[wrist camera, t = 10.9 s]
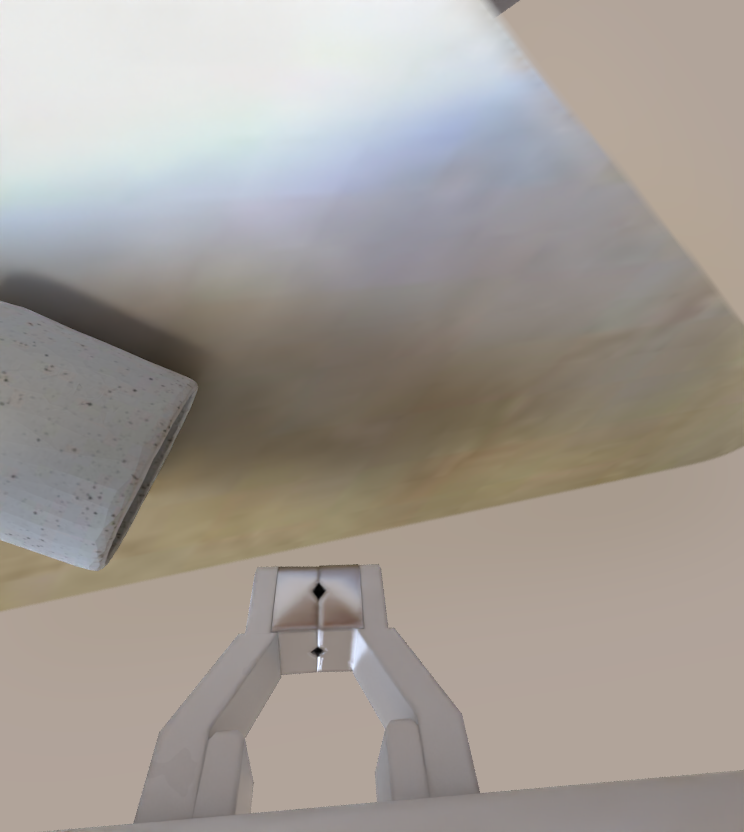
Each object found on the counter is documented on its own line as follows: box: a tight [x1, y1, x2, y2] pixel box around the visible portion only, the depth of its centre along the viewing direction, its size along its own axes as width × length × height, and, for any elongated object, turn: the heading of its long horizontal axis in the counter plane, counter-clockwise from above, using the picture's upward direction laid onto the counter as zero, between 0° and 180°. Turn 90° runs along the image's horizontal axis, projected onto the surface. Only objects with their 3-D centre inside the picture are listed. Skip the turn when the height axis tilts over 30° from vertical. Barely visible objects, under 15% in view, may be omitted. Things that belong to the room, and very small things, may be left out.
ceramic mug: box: [0, 301, 198, 571], centre depth 16 cm, size 11×8×8 cm
